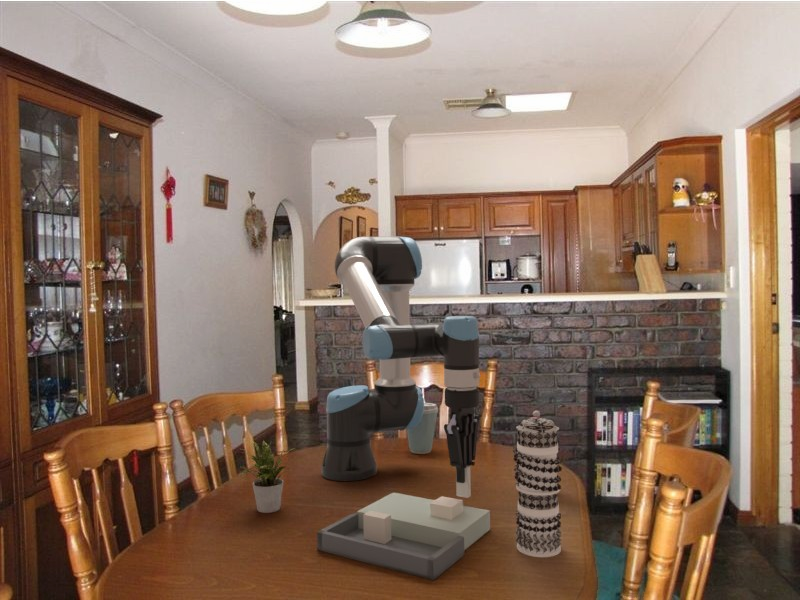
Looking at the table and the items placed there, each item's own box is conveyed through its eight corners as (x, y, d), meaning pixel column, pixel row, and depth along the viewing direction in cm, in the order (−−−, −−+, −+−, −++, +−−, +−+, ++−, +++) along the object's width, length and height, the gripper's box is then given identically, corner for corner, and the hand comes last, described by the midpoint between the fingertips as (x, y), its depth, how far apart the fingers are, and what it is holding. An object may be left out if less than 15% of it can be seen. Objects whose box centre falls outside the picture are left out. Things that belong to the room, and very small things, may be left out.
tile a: (370, 534, 132) (363, 539, 130) (370, 510, 132) (363, 514, 130) (391, 539, 129) (384, 543, 127) (390, 514, 129) (384, 518, 127)
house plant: (220, 509, 150) (218, 439, 150) (269, 494, 160) (268, 428, 160) (256, 524, 140) (254, 449, 140) (306, 507, 150) (304, 437, 150)
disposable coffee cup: (405, 446, 204) (405, 399, 203) (439, 447, 203) (439, 399, 202) (402, 455, 193) (401, 406, 193) (438, 456, 192) (437, 406, 192)
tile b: (430, 515, 133) (429, 503, 133) (441, 507, 137) (441, 496, 137) (451, 519, 130) (451, 507, 130) (462, 512, 134) (462, 500, 134)
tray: (317, 549, 126) (317, 532, 126) (353, 529, 136) (353, 512, 136) (433, 580, 112) (433, 560, 112) (464, 555, 122) (464, 536, 122)
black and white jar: (511, 538, 130) (509, 415, 129) (557, 538, 129) (556, 414, 129) (518, 558, 121) (516, 425, 120) (568, 558, 120) (566, 424, 120)
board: (357, 530, 136) (357, 511, 136) (393, 509, 148) (393, 492, 148) (459, 554, 123) (459, 533, 123) (490, 529, 135) (489, 510, 135)
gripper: (464, 393, 132) (465, 508, 132) (490, 384, 143) (491, 490, 143) (431, 390, 136) (433, 502, 136) (459, 382, 147) (461, 485, 147)
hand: (463, 495), depth 140 cm, fingers closed
